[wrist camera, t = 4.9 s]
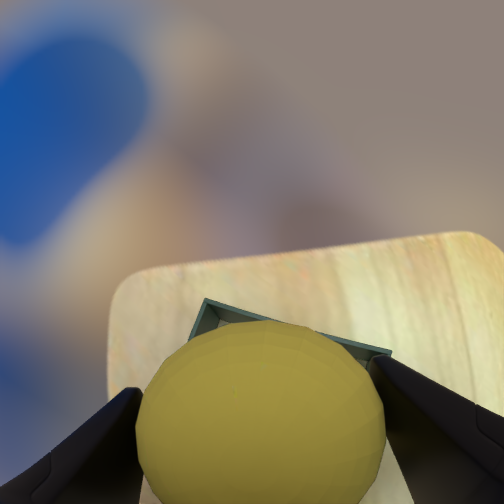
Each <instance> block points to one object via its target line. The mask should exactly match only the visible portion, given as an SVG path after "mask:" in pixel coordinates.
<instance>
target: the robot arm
mask: <svg viewBox="0 0 504 504" xmlns="http://www.w3.org/2000/svg"><path fill="white" fill-rule="evenodd" d="M369 376H370V378H371V380H372V382H373V384H374V386H375V388H376V390H377V392H378V395H379V397H380V399H381V401H382V403H383V407H384V417H385V429H386V437H387V439H388V441H389V443H390V446H391V448H392V450H393V453H394V455H395V457H396V460H397V462H398V464H399V467H400V469H401V472H402V474H403V476H404V479H405V481H406V484H407V486H408V489H409V491H410V493H411V496H412V498H413V501H414V504H504V417H502V416H500V415H498V414H496V413H493V412H491V411H489V410H487V409H485V408H483V407H481V406H480V405H478V404H476V405H475V403H474V402H472V401H470V400H468V399H466V398H464V397H462V396H461V395H459V394H457V393H455V392H453V391H451V390H449V389H448V388H446V387H444V386H442V385H440V384H438V383H436V382H435V381H433V380H431V379H429V378H427V377H425V376H424V375H422V374H420V373H418V372H416V371H415V370H413V369H411V368H409V367H407V366H406V365H404V364H402V363H400V362H398V361H397V360H395V359H393V358H391V357H389V356H388V355H385V354H382V355H378V356H374V357H372V358H371V360H370V368H369ZM142 398H143V393H142V391H141V390H140V389H139V388H137V387H127V388H125V389H124V390H122V391H121V392H120V393H119V394H118V395H117V396H115V397H114V398H113V399H112V400H111V401H110V402H108V403H107V404H106V405H105V406H104V407H103V408H102V409H100V410H99V411H98V412H97V413H96V414H94V415H93V416H92V417H91V418H90V419H88V420H87V421H86V422H85V423H84V424H83V425H81V426H80V427H79V428H78V429H77V430H76V431H74V432H73V433H72V434H71V435H70V436H68V437H67V438H66V439H65V440H63V441H62V442H61V443H60V444H59V445H57V446H56V447H55V448H54V449H53V450H51V453H50V452H49V453H48V454H47V455H45V456H44V457H43V458H42V459H40V460H39V461H38V462H37V463H35V464H34V465H33V466H31V467H30V468H29V469H27V470H26V471H24V472H23V473H21V474H20V475H18V476H17V477H15V478H13V479H12V480H10V481H9V482H7V483H6V484H4V485H2V486H1V487H0V504H139V499H140V492H141V486H142V480H143V474H144V472H143V470H142V467H141V465H140V463H139V461H138V451H137V441H136V429H135V426H136V422H137V418H138V414H139V410H140V406H141V402H142Z"/></svg>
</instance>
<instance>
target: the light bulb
mask: <svg viewBox="0 0 504 504" xmlns="http://www.w3.org/2000/svg"><path fill="white" fill-rule="evenodd" d="M135 429H136V441H137V451H138V461H139V463H140V465H141V467H142V470H143V472H144V474H145V476H146V479H147V481H148V483H149V485H150V487H151V489H152V491H153V493H154V494H155V495H156V496H157V497H158V499H159V500H160V501H161V502H162V503H163V504H358V503H359V502H360V500H361V499H362V498H363V496H364V495H365V494H366V492H367V491H368V489H369V488H370V486H371V485H372V483H373V482H374V481H375V479H376V476H377V473H378V469H379V466H380V462H381V459H382V455H383V452H384V448H385V444H386V429H385V417H384V407H383V403H382V401H381V399H380V397H379V395H378V392H377V390H376V388H375V386H374V384H373V382H372V380H371V378H370V376H369V373H368V372H367V371H366V370H365V369H364V368H363V367H362V366H361V365H360V364H359V363H358V362H357V361H356V360H355V359H354V358H353V356H352V355H351V354H350V353H349V352H348V351H347V350H346V349H345V348H344V347H343V346H342V345H340V344H338V343H336V342H335V341H333V340H331V339H329V338H327V337H325V336H323V335H321V334H319V333H317V332H315V331H313V330H311V329H310V328H308V327H304V326H298V325H293V324H288V323H282V322H277V321H272V320H263V321H253V322H242V323H231V324H227V325H224V326H222V327H219V328H217V329H214V330H212V331H209V332H207V333H204V334H202V335H199V336H197V337H194V338H192V339H191V340H190V341H189V342H187V343H186V344H185V345H184V346H182V347H181V348H180V349H179V350H177V351H176V352H175V353H174V354H172V355H171V356H170V357H169V358H167V359H166V360H165V361H164V362H163V364H162V365H161V367H160V368H159V370H158V371H157V373H156V374H155V376H154V377H153V379H152V381H151V382H150V384H149V385H148V387H147V388H146V390H145V392H144V394H143V398H142V402H141V406H140V410H139V414H138V418H137V422H136V426H135Z"/></svg>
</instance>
